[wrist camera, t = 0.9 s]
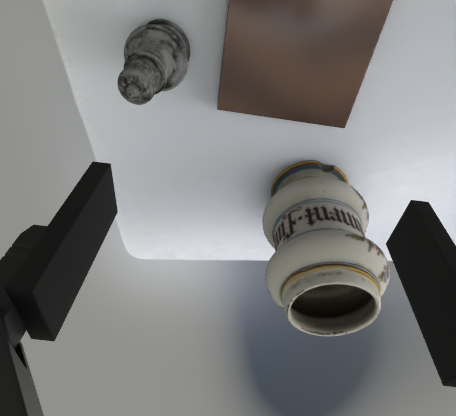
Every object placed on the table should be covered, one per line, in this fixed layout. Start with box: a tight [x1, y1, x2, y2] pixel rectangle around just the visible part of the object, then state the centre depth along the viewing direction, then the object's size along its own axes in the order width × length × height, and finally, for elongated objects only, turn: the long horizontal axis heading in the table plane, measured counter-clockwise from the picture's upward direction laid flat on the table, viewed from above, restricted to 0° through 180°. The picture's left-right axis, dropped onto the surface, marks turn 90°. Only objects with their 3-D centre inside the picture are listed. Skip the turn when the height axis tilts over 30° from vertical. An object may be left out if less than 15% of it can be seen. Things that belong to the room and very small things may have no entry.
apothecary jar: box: [263, 161, 390, 336], centre depth 37 cm, size 12×12×18 cm
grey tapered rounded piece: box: [118, 20, 190, 105], centre depth 29 cm, size 6×6×12 cm
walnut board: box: [217, 0, 393, 128], centre depth 31 cm, size 20×14×1 cm
